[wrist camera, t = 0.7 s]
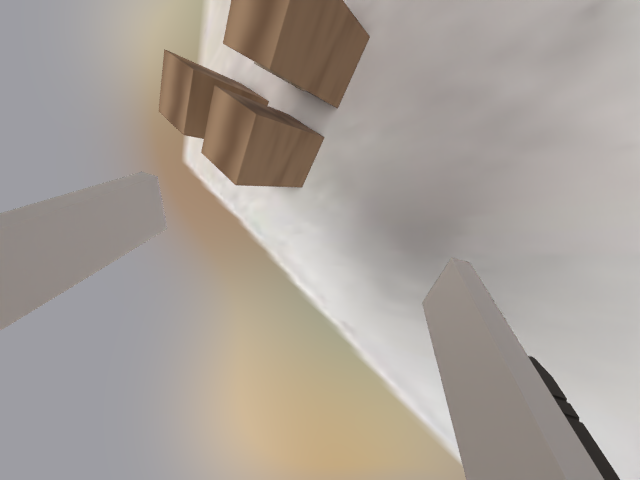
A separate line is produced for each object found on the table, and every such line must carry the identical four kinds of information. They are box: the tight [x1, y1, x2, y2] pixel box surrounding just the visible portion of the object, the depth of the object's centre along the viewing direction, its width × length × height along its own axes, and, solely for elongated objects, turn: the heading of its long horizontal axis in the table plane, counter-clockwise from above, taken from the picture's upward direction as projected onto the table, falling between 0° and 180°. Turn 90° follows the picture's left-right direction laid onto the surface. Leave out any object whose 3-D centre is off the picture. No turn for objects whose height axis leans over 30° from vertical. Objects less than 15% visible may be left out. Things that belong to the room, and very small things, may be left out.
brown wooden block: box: [201, 85, 324, 187], centre depth 31 cm, size 8×8×12 cm
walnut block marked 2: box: [223, 0, 370, 108], centre depth 25 cm, size 8×8×12 cm
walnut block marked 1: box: [159, 50, 269, 139], centre depth 36 cm, size 8×8×12 cm
